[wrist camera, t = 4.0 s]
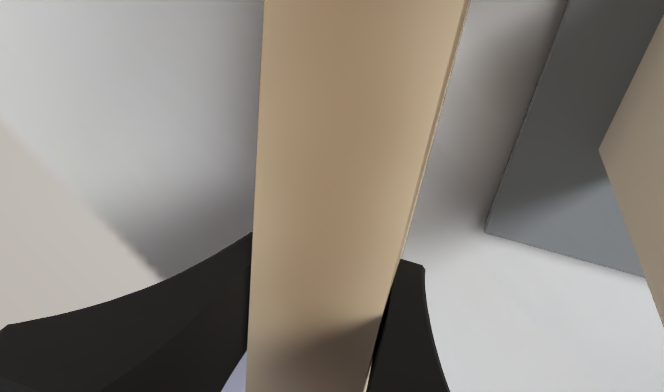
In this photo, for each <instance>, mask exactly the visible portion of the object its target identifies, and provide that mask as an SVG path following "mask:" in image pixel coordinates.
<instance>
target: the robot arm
mask: <svg viewBox="0 0 664 392" xmlns="http://www.w3.org/2000/svg"><path fill="white" fill-rule="evenodd" d="M252 240H253V231H252V232H251V233H249V234H248V235H246V236H245V237H243V238H241V239H240V240H238V241H237V242H235V243H233V244H232V245H230V246H228V247H227V248H225V249H223V250H222V251H220V252H218V253H217V254H215V255H213V256H212V257H210V258H208V259H206V260H204V261H202V262H201V263H199V264H197V265H195V266H193V267H191V268H189V269H187V270H185V271H184V272H182V273H179V274H177V275H175V276H173V277H171V278H169V279H167V280H164V281H162V282H160V283H157V284H155V285H152V286H150V287H147V288H145V289H142V290H139V291H137V292H134V293H131V294H128V295H125V296H122V297H120V298H117V299H114V300H111V301H108V302H104V303H101V304H98V305H94V306H91V307H87V308H83V309H80V310H76V311H72V312H68V313H64V314H60V315H55V316H50V317H46V318H41V319H36V320H31V321H26V322H21V323H16V324H9V325H7V326H6V327H4V328H3V329H2V330H0V392H245V384H246V363H247V343H248V322H249V302H250V281H251V261H252ZM366 392H450V390H449V387H448V385H447V382H446V379H445V376H444V373H443V370H442V367H441V364H440V360H439V357H438V353H437V350H436V346H435V342H434V338H433V334H432V329H431V324H430V319H429V314H428V308H427V301H426V293H425V269H424V267H423V266H422V265H419V264H416V263H413V262H409V261H406V260H403V259H400V261H399V264H398V267H397V270H396V273H395V276H394V279H393V283H392V287H391V291H390V294H389V298H388V302H387V306H386V309H385V313H384V317H383V321H382V325H381V328H380V332H379V336H378V340H377V344H376V347H375V351H374V355H373V359H372V364H371V369H370V374H369V380H368V385H367V390H366Z"/></svg>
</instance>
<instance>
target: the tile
mask: <svg viewBox="0 0 664 392" xmlns="http://www.w3.org/2000/svg"><path fill="white" fill-rule="evenodd" d="M598 150H599V153H600V156H601V158H602V161H603V164H604V167H605V169H606V172H607V175H608V177H609V180H610V183H611V186H612V188H613V191H614V194H615V196H616V199H617V202H618V205H619V207H620V210H621V213H622V215H623V218H624V221H625V224H626V226H627V229H628V232H629V234H630V237H631V240H632V243H633V245H634V248H635V251H636V253H637V256H638V259H639V262H640V264H641V267H642V270H643V272H644V275H645V278H646V281H647V283H648V286H649V289H650V291H651V294H652V297H653V300H654V302H655V305H656V308H657V310H658V313H659V316H660V319H661V321H662V324H663V327H664V15H663V17H662V19H661V21H660V23H659V25H658V27H657V29H656V31H655V33H654V35H653V38H652V40H651V42H650V44H649V46H648V48H647V50H646V52H645V54H644V56H643V58H642V60H641V62H640V64H639V66H638V69H637V71H636V73H635V75H634V77H633V79H632V81H631V83H630V85H629V87H628V89H627V91H626V93H625V95H624V97H623V100H622V102H621V104H620V106H619V108H618V110H617V112H616V114H615V116H614V118H613V120H612V122H611V124H610V126H609V128H608V130H607V133H606V135H605V137H604V139H603V141H602V143H601V145H600V147H599V149H598Z"/></svg>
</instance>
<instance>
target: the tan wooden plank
mask: <svg viewBox="0 0 664 392" xmlns="http://www.w3.org/2000/svg"><path fill="white" fill-rule="evenodd" d="M470 1H471V0H264V15H263V36H262V56H261V77H260V97H259V117H258V138H257V158H256V179H255V199H254V220H253V240H252V261H251V281H250V302H249V322H248V343H247V363H246V384H245V392H366V389H367V385H368V380H369V374H370V369H371V364H372V359H373V355H374V351H375V347H376V344H377V340H378V336H379V332H380V328H381V325H382V321H383V317H384V313H385V309H386V306H387V302H388V298H389V294H390V291H391V287H392V283H393V279H394V276H395V273H396V270H397V267H398V264H399V261H400V259H402V255H403V252H404V248H405V244H406V240H407V237H408V233H409V229H410V225H411V222H412V218H413V214H414V210H415V207H416V203H417V199H418V195H419V192H420V188H421V184H422V181H423V177H424V173H425V169H426V166H427V162H428V158H429V154H430V151H431V147H432V143H433V139H434V136H435V132H436V128H437V124H438V121H439V117H440V113H441V109H442V106H443V102H444V98H445V94H446V91H447V87H448V83H449V79H450V76H451V72H452V68H453V64H454V61H455V57H456V53H457V49H458V46H459V42H460V38H461V34H462V31H463V27H464V23H465V19H466V16H467V12H468V8H469V4H470Z"/></svg>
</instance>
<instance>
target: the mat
mask: <svg viewBox="0 0 664 392" xmlns="http://www.w3.org/2000/svg"><path fill="white" fill-rule="evenodd" d="M663 15H664V0H569V1H568V4H567V7H566V9H565V12H564V15H563V17H562V20H561V23H560V25H559V28H558V31H557V33H556V36H555V39H554V41H553V44H552V47H551V49H550V52H549V55H548V57H547V60H546V63H545V65H544V68H543V71H542V73H541V76H540V79H539V81H538V84H537V87H536V89H535V92H534V95H533V97H532V100H531V103H530V105H529V108H528V111H527V113H526V116H525V119H524V121H523V124H522V127H521V129H520V132H519V135H518V137H517V140H516V143H515V145H514V148H513V151H512V153H511V156H510V159H509V161H508V164H507V167H506V169H505V172H504V174H503V177H502V180H501V182H500V185H499V188H498V190H497V193H496V196H495V198H494V201H493V204H492V206H491V209H490V212H489V214H488V217H487V220H486V222H485V231H484V233H487V234H491V235H495V236H498V237H502V238H505V239H509V240H512V241H516V242H520V243H523V244H527V245H530V246H534V247H538V248H541V249H545V250H548V251H552V252H555V253H559V254H563V255H566V256H570V257H573V258H577V259H580V260H584V261H588V262H591V263H595V264H598V265H602V266H605V267H609V268H613V269H616V270H620V271H623V272H627V273H631V274H634V275H638V276H641V277H645V275H644V272H643V270H642V267H641V264H640V262H639V259H638V256H637V253H636V251H635V248H634V245H633V243H632V240H631V237H630V234H629V232H628V229H627V226H626V224H625V221H624V218H623V215H622V213H621V210H620V207H619V205H618V202H617V199H616V196H615V194H614V191H613V188H612V186H611V183H610V180H609V177H608V175H607V172H606V169H605V167H604V164H603V161H602V158H601V156H600V153H599V150H598V149H599V147H600V145H601V143H602V141H603V139H604V137H605V135H606V133H607V130H608V128H609V126H610V124H611V122H612V120H613V118H614V116H615V114H616V112H617V110H618V108H619V106H620V104H621V102H622V100H623V97H624V95H625V93H626V91H627V89H628V87H629V85H630V83H631V81H632V79H633V77H634V75H635V73H636V71H637V69H638V66H639V64H640V62H641V60H642V58H643V56H644V54H645V52H646V50H647V48H648V46H649V44H650V42H651V40H652V38H653V35H654V33H655V31H656V29H657V27H658V25H659V23H660V21H661V19H662V17H663Z"/></svg>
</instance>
